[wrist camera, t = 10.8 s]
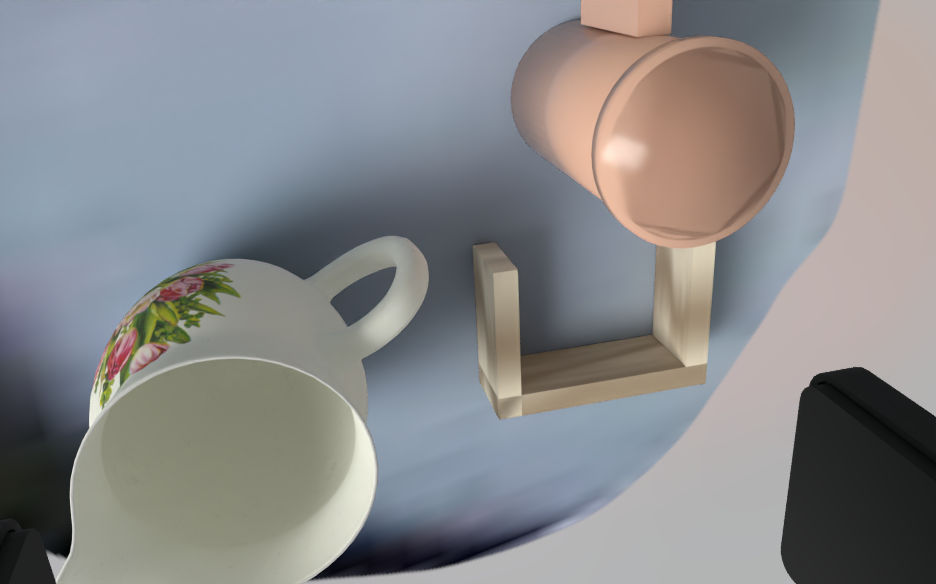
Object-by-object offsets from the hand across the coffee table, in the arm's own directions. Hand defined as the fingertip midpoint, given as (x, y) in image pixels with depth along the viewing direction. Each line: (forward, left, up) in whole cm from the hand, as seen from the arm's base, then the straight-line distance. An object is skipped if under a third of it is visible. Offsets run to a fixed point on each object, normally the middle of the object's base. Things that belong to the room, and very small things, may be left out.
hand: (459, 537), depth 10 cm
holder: (+12, +13, -30) cm, 35 cm away
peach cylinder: (-2, +13, -30) cm, 33 cm away
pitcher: (+10, -4, -31) cm, 32 cm away
